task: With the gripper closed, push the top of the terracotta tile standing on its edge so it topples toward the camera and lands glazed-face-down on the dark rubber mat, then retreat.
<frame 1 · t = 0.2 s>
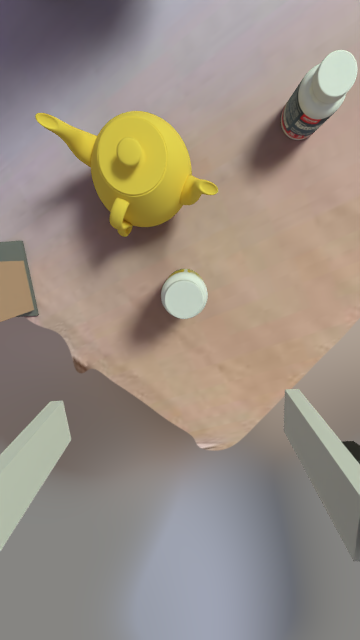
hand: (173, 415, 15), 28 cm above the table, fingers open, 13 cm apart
pill bottle: (184, 287, 41), on the table
pill bottle 2: (299, 119, 34), on the table
teapot: (145, 189, 37), on the table
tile: (21, 286, 41), resting on mat
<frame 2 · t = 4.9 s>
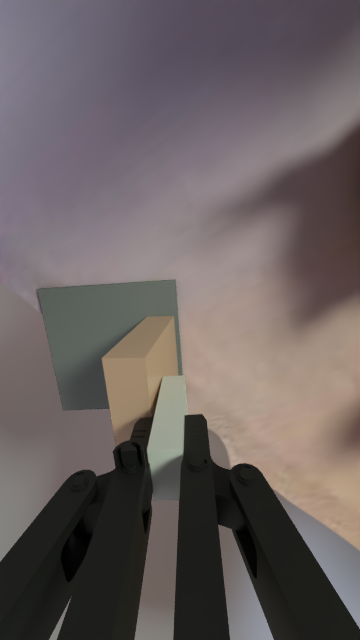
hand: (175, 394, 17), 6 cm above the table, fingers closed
mat: (115, 348, 23), on the table
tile: (164, 358, 23), point 1 cm above the table, tilted 6°, touching mat
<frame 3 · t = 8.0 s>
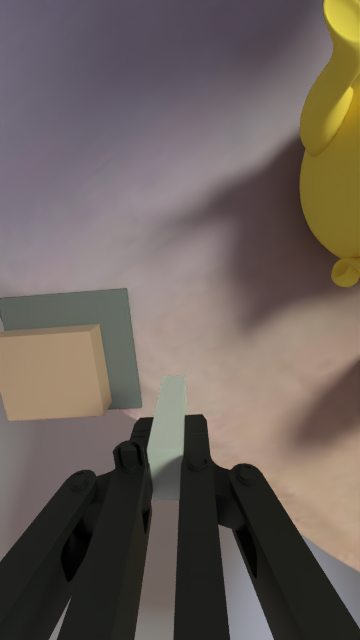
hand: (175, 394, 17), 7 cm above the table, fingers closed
mat: (74, 354, 25), on the table
teapot: (357, 196, 21), on the table
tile: (101, 369, 23), point 2 cm above the table, tilted 90°, touching mat
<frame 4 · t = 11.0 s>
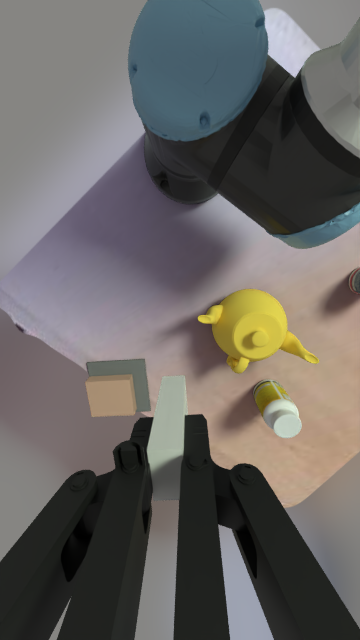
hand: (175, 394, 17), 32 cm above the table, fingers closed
mat: (119, 386, 53), on the table
pill bottle: (267, 391, 53), on the table
teapot: (242, 324, 49), on the table
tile: (133, 394, 52), point 2 cm above the table, tilted 90°, touching mat
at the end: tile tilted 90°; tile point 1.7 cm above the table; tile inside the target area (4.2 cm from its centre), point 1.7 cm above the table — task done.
